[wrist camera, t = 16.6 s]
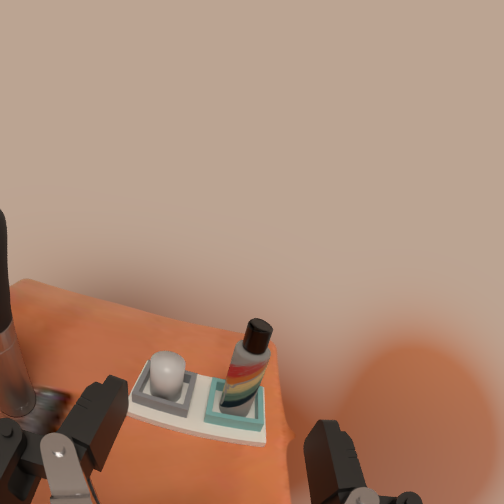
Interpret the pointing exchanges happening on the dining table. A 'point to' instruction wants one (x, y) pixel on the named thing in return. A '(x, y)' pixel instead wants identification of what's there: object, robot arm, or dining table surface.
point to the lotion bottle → (246, 369)
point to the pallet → (192, 403)
